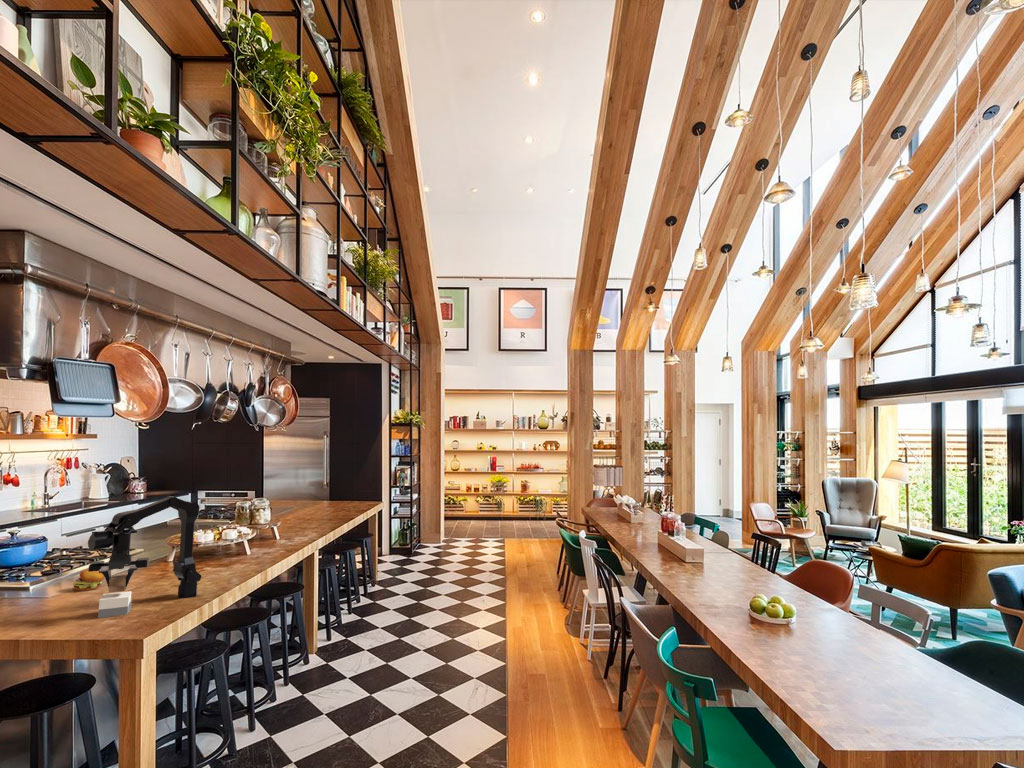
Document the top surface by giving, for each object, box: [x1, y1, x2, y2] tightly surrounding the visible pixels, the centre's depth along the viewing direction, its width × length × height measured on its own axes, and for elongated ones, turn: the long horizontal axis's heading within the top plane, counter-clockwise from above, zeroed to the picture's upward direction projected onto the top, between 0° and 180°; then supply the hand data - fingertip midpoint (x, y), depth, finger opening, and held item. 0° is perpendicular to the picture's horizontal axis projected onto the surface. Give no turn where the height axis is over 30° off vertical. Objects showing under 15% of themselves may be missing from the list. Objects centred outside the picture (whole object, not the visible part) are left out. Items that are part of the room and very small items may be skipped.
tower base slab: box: [97, 599, 132, 619], centre depth 210 cm, size 9×9×4 cm
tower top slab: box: [98, 590, 133, 611], centre depth 210 cm, size 9×9×4 cm
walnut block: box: [108, 574, 128, 593], centre depth 211 cm, size 5×5×5 cm
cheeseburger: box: [72, 567, 105, 592], centre depth 243 cm, size 10×11×10 cm
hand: (118, 587), depth 211 cm, fingers closed on walnut block, 5 cm apart
